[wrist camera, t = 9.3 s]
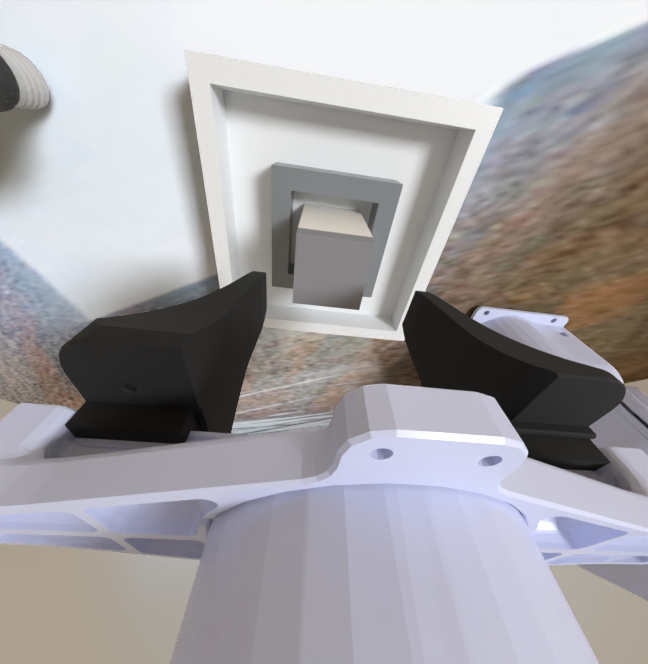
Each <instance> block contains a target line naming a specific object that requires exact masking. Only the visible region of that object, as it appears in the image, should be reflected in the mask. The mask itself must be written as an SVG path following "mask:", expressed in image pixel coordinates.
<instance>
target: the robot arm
mask: <svg viewBox="0 0 648 664" xmlns="http://www.w3.org/2000/svg"><path fill="white" fill-rule="evenodd" d="M266 311H267V288H266V272H258V271H252V272H250V273H248V274H246V275H244V276H243V277H241V278H239V279H237V280H236V281H234V282H232V283H230V284H229V285H227V286H225V287H223V288H221V289H219V290H217V291H215V292H213V293H211V294H208V295H206V296H204V297H201V298H198V299H196V300H193V301H190V302H187V303H183V304H179V305H176V306H172V307H169V308H165V309H160V310H155V311H150V312H145V313H139V314H133V315H125V316H116V317H108V318H98V319H96V320H94V321H93V322H92V323H91V324H89V325H88V326H87V327H86V328H84V329H83V330H82V331H81V332H79V333H78V334H77V335H76V336H74V337H73V338H72V339H71V340H69V341H68V342H67V343H66V344H64V345H63V346H62V348H61V350H60V352H59V359H60V364H61V366H62V368H63V370H64V372H65V373H66V375H67V376H68V377H69V379H70V380H71V381H72V383H73V384H74V385H75V387H76V388H77V389H78V391H79V392H80V393H81V395H82V396H83V397H84V399H85V400H86V402H85V403H84V404H83V405H82V407H81V408H80V409H79V410H78V411H76V410H74V409H72V408H70V407H66V406H59V405H46V404H32V403H21V404H18V405H17V406H16V407H15V408H14V409H13V410H12V411H10V412H9V413H8V414H7V415H6V416H5V417H3V418H2V419H1V420H0V544H17V545H18V544H19V545H37V546H52V547H67V548H78V549H91V550H101V551H111V552H122V553H131V554H132V553H133V554H142V555H153V556H162V557H172V558H183V559H192V560H200V563H199V566H198V570H197V573H196V577H195V580H194V583H193V587H192V591H191V594H190V597H189V600H188V604H187V607H186V611H185V614H184V617H183V621H182V624H181V628H180V631H179V634H178V638H177V641H176V645H175V648H174V651H173V655H172V658H171V662H170V664H599V663H598V661H597V659H596V657H595V655H594V653H593V651H592V649H591V647H590V645H589V644H588V642H587V640H586V638H585V636H584V634H583V632H582V630H581V628H580V626H579V624H578V623H577V621H576V619H575V617H574V615H573V613H572V611H571V609H570V607H569V605H568V603H567V601H566V599H565V598H564V596H563V594H562V592H561V590H560V588H559V586H558V584H557V582H556V580H555V578H554V577H553V575H552V573H551V571H550V569H549V567H548V565H578V566H579V567H581V568H583V569H585V570H587V571H589V572H591V573H593V574H595V575H597V576H599V577H602V578H603V579H606V580H608V581H609V582H612V583H613V584H615V585H618V586H620V587H622V588H624V589H626V590H628V591H630V592H632V593H634V594H636V595H638V596H640V597H642V598H643V599H645V600H647V601H648V396H647V395H646V394H645V393H643V392H642V391H641V390H640V389H638V388H637V387H632V386H625V385H624V383H623V380H622V378H621V376H620V375H619V373H618V372H617V370H616V369H615V368H614V367H613V366H612V365H610V364H609V363H608V362H607V361H605V360H604V359H603V358H602V357H600V356H599V355H598V354H596V353H595V352H594V351H593V350H591V349H590V348H589V347H588V346H586V345H585V344H584V343H583V342H581V341H580V340H579V339H578V338H576V337H575V336H574V335H573V334H571V333H570V332H569V331H568V330H566V329H565V328H564V327H563V326H564V325H565V324H566V323H567V322H568V318H567V317H566V316H564V315H555V314H546V313H537V312H529V311H520V310H511V309H502V308H494V307H485V306H480V307H478V308H476V309H475V311H474V312H473V314H472V316H471V317H469V316H467V315H465V314H464V313H462V312H461V311H459V310H457V309H456V308H454V307H453V306H451V305H450V304H448V303H447V302H445V301H443V300H442V299H440V298H439V297H437V296H435V295H433V294H431V293H429V292H424V291H415V293H414V296H413V298H412V301H411V303H410V306H409V308H408V311H407V313H406V316H405V318H404V321H403V323H402V327H403V333H404V337H405V341H406V344H407V347H408V350H409V352H410V355H411V357H412V360H413V363H414V365H415V368H416V370H417V373H418V376H419V379H420V382H421V385H422V387H417V386H406V385H394V384H373V385H363V386H361V387H359V388H357V389H355V390H352V391H350V392H348V393H346V394H345V395H344V396H343V397H342V398H341V400H340V401H339V402H338V404H337V405H336V407H335V410H334V413H333V417H332V420H331V422H330V424H329V425H326V426H318V427H310V428H301V429H293V430H285V431H277V432H269V433H260V434H252V435H245V434H231V430H232V425H233V421H234V417H235V412H236V408H237V404H238V400H239V396H240V392H241V388H242V384H243V380H244V376H245V372H246V369H247V366H248V363H249V360H250V357H251V355H252V352H253V350H254V347H255V345H256V342H257V340H258V337H259V335H260V332H261V330H262V327H263V324H264V320H265V315H266ZM485 311H487V312H485ZM484 312H485V313H484Z"/></svg>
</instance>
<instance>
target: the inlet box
mask: <svg viewBox="0 0 648 664" xmlns="http://www.w3.org/2000/svg"><path fill="white" fill-rule="evenodd" d="M184 52H185V59H186V65H187V72H188V79H189V86H190V92H191V99H192V106H193V112H194V119H195V126H196V133H197V139H198V146H199V153H200V159H201V166H202V173H203V179H204V186H205V193H206V200H207V206H208V213H209V220H210V226H211V233H212V240H213V246H214V253H215V260H216V267H217V273H218V280H219V287H220V289H221V288H223V287H225V286H227V285H229V284H230V283H232V282H234V281H236V280H237V279H239V278H241V277H243V276H244V275H246V274H248V273H250V272H252V271H258V272H266V288H267V311H266V315H265V320H264V324H263V327H266V328H276V329H286V330H297V331H307V332H317V333H327V334H337V335H347V336H357V337H367V338H377V339H387V340H397V341H404V339H405V337H404V333H403V327H402V323H403V321H404V318H405V316H406V313H407V311H408V308H409V306H410V303H411V301H412V298H413V296H414V293H415V291H424V292H425V290H426V288H427V286H428V283H429V281H430V279H431V276H432V274H433V272H434V269H435V267H436V265H437V262H438V260H439V258H440V255H441V253H442V251H443V248H444V246H445V244H446V241H447V239H448V237H449V234H450V232H451V230H452V227H453V225H454V223H455V220H456V218H457V216H458V213H459V211H460V209H461V206H462V204H463V202H464V199H465V197H466V195H467V192H468V190H469V188H470V185H471V183H472V181H473V178H474V176H475V174H476V171H477V169H478V167H479V165H480V162H481V160H482V158H483V155H484V153H485V151H486V148H487V146H488V144H489V141H490V139H491V137H492V134H493V132H494V130H495V127H496V125H497V123H498V120H499V118H500V116H501V113H502V111H503V109H504V108H500V107H494V106H489V105H484V104H478V103H473V102H467V101H462V100H456V99H451V98H445V97H440V96H434V95H429V94H423V93H418V92H412V91H407V90H402V89H396V88H391V87H385V86H380V85H374V84H369V83H363V82H358V81H352V80H347V79H341V78H336V77H330V76H325V75H320V74H314V73H309V72H303V71H298V70H292V69H287V68H281V67H276V66H270V65H265V64H259V63H254V62H249V61H243V60H238V59H232V58H227V57H221V56H216V55H210V54H205V53H199V52H194V51H188V50H184ZM305 203H307V204H314V205H321V206H328V207H336V208H343V209H350V210H357V211H360V212H361V214H362V216H363V218H364V220H365V222H366V224H367V226H368V228H369V230H370V232H371V234H372V236H373V238H374V240H375V242H376V246H375V250H374V254H373V258H372V262H371V266H370V270H369V274H368V278H367V281H366V285H365V289H364V293H363V297H362V301H361V305H360V309H359V310H352V309H343V308H334V307H324V306H315V305H306V304H297V303H292V301H293V283H294V265H295V247H296V233H297V229H298V226H299V222H300V219H301V215H302V212H303V208H304V205H305Z"/></svg>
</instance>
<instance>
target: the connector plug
mask: <svg viewBox="0 0 648 664" xmlns="http://www.w3.org/2000/svg"><path fill="white" fill-rule="evenodd" d="M375 246H376V242H375V240H374V238H373V236H372V234H371V232H370V230H369V228H368V226H367V224H366V222H365V220H364V218H363V216H362V214H361V212H360V211H357V210H350V209H343V208H336V207H328V206H321V205H314V204H307V203H305V205H304V208H303V212H302V215H301V219H300V222H299V226H298V229H297V233H296V247H295V265H294V283H293V301H292V303H297V304H306V305H315V306H324V307H334V308H343V309H352V310H359V309H360V305H361V301H362V297H363V293H364V289H365V285H366V281H367V278H368V274H369V270H370V266H371V262H372V258H373V254H374V250H375Z"/></svg>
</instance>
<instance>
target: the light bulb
mask: <svg viewBox="0 0 648 664" xmlns="http://www.w3.org/2000/svg"><path fill="white" fill-rule="evenodd" d="M48 102H49V90H48V87H47V84H46V82H45V80H44V78H43V76H42V74H41V73H40V71H39V70H38V69H37V67H36V66H35V65H34V64H33V63H32V62H31V61H30V60H29V59H28V58H27V57H25V56H24V55H23V54H21V53H20V52H18V51H16V50H14V49H12V48H9V47H7V46H4V45H2V44H0V112H3V111H8V110H11V109H13V108H21V109H31V110H36V109H40V108H44V107H45V106H46V105H47V104H48Z"/></svg>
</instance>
